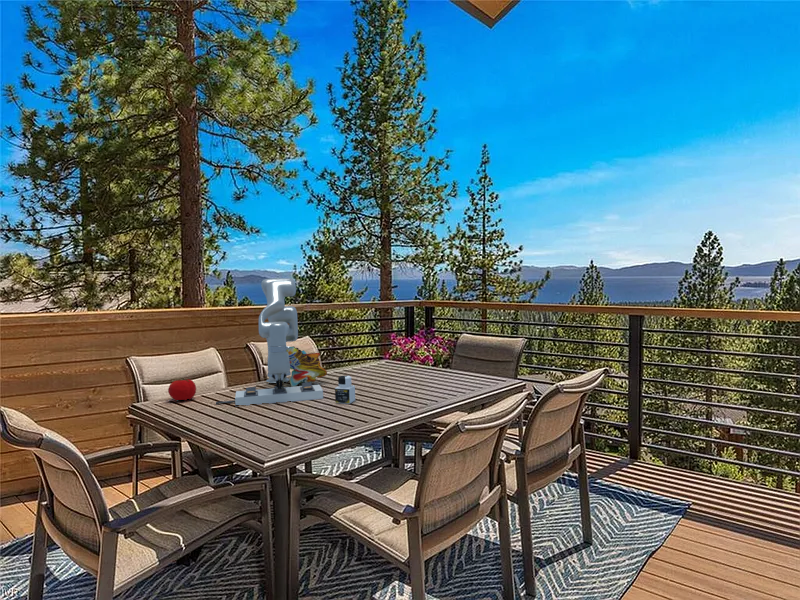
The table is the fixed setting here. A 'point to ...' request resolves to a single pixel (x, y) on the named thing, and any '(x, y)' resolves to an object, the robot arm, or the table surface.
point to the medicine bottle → (344, 390)
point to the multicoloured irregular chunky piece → (304, 366)
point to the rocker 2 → (307, 386)
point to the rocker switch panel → (277, 395)
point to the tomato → (182, 389)
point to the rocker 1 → (250, 390)
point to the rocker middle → (279, 389)
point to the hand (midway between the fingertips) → (279, 388)
